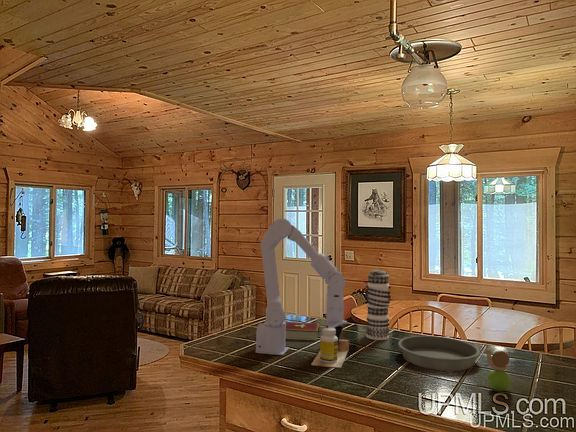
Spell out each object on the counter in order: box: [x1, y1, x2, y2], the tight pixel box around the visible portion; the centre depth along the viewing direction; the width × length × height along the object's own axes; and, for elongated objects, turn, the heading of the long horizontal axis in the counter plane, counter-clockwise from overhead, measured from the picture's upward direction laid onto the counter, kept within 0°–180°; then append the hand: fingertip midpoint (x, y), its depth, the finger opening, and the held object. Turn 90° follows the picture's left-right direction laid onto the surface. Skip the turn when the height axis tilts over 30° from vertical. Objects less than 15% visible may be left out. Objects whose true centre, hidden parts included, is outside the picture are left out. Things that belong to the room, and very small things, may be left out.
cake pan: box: [397, 335, 481, 372], centre depth 138 cm, size 25×25×4 cm
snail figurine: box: [484, 343, 512, 393], centre depth 113 cm, size 5×6×12 cm
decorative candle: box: [365, 269, 392, 341], centre depth 164 cm, size 9×9×25 cm
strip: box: [311, 338, 350, 369], centre depth 139 cm, size 9×20×3 cm, turn 165°
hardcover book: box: [284, 321, 320, 341], centre depth 165 cm, size 12×21×4 cm, turn 83°
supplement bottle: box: [319, 327, 338, 363], centre depth 134 cm, size 5×5×10 cm
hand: (334, 347), depth 145 cm, fingers closed
